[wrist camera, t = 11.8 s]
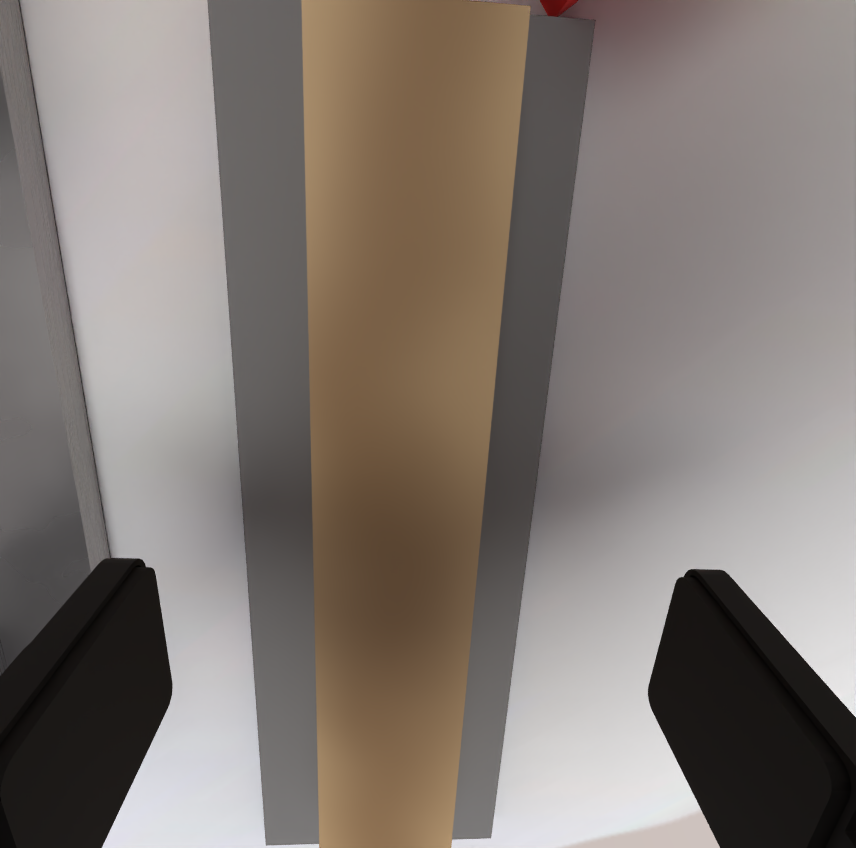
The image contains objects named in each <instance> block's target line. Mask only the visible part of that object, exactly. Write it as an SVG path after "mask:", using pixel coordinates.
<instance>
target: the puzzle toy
mask: <svg viewBox="0 0 856 848" xmlns="http://www.w3.org/2000/svg"><path fill="white" fill-rule="evenodd" d="M577 1H578V0H540V2H541V4H542V6H543V8H544V10H545V12H546V13H547V15H548V16H554V17H558V16H560V15H561V14H562V13H563V12H565V11H566V10H567V9H568V8H570V7H571V6H572V5H573V4H575V3H576V2H577Z"/></svg>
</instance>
